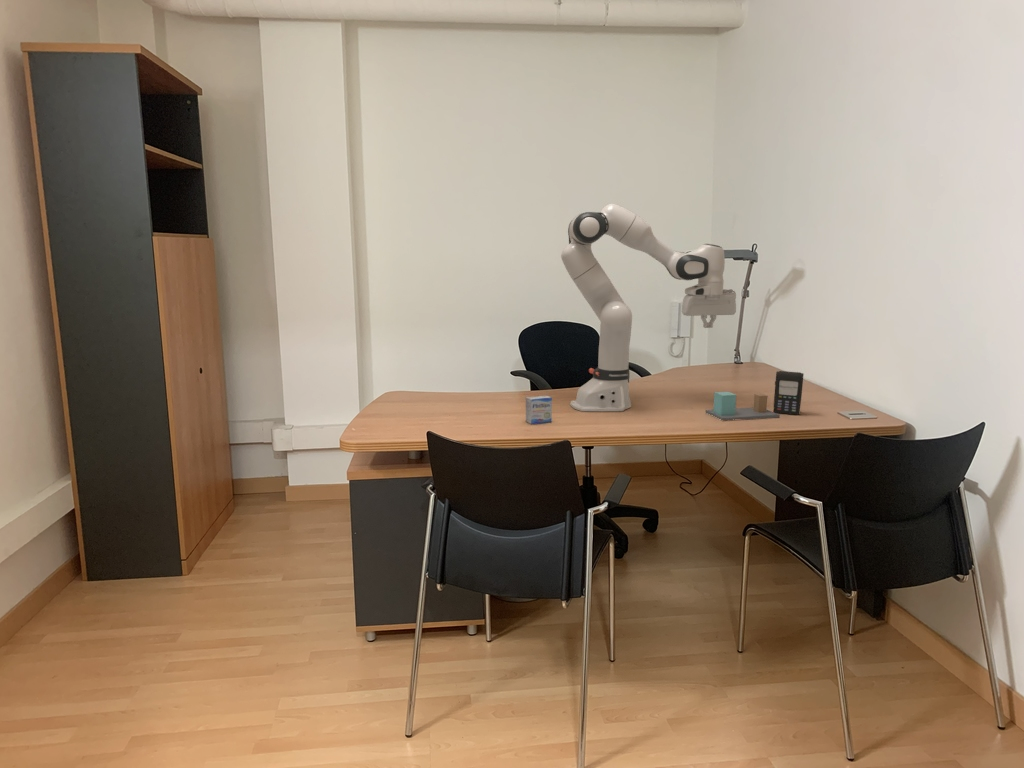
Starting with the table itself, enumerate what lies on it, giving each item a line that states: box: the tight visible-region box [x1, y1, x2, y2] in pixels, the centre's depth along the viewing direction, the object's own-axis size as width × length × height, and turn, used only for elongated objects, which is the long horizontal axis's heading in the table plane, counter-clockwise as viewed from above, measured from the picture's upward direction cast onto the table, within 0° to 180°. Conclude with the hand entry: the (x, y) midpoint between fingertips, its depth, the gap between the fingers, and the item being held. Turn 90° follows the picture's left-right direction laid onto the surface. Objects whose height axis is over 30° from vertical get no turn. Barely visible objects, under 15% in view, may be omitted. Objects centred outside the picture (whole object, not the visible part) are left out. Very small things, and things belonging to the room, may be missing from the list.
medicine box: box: [525, 395, 553, 425], centre depth 243 cm, size 8×4×9 cm, turn 114°
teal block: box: [713, 391, 737, 416], centre depth 252 cm, size 5×5×7 cm
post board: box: [704, 393, 780, 421], centre depth 254 cm, size 22×12×7 cm, turn 103°
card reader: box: [773, 370, 805, 416], centre depth 256 cm, size 9×4×15 cm, turn 66°
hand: (708, 327), depth 264 cm, fingers closed
